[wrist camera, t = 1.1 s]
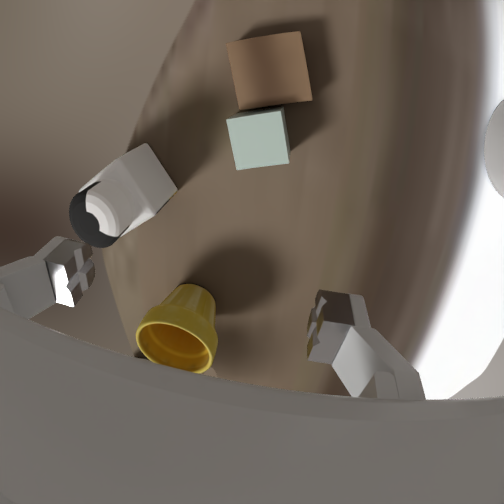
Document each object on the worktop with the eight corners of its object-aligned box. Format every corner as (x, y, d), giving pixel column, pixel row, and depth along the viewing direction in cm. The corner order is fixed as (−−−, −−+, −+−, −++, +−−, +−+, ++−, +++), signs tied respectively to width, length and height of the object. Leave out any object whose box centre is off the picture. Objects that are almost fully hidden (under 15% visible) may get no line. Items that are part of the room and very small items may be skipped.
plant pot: (182, 331, 50) (163, 378, 42) (148, 282, 45) (120, 328, 37) (240, 320, 46) (227, 371, 38) (207, 264, 42) (185, 313, 34)
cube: (283, 106, 30) (280, 110, 26) (290, 151, 33) (289, 163, 29) (236, 113, 32) (226, 119, 27) (245, 157, 34) (236, 170, 30)
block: (300, 35, 26) (300, 31, 24) (311, 98, 30) (312, 100, 27) (232, 45, 28) (225, 43, 25) (244, 107, 31) (239, 110, 28)
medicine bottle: (138, 215, 40) (90, 266, 29) (108, 171, 37) (50, 210, 27) (179, 190, 37) (135, 239, 27) (147, 141, 34) (89, 173, 24)
